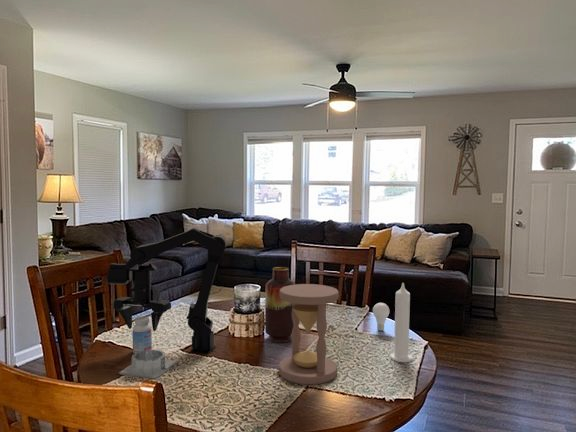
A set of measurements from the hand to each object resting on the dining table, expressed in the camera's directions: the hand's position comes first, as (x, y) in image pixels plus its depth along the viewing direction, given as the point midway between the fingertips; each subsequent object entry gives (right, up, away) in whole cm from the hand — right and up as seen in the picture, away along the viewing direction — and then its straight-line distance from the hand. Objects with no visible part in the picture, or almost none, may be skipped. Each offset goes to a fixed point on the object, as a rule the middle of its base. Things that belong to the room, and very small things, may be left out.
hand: (142, 329), depth 149 cm
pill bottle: (0, -8, 0) cm, 8 cm away
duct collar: (+6, -8, -14) cm, 17 cm away
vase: (+46, -7, +14) cm, 48 cm away
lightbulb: (+85, -7, +25) cm, 89 cm away
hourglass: (+55, -9, -15) cm, 57 cm away
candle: (+86, -9, -4) cm, 86 cm away
